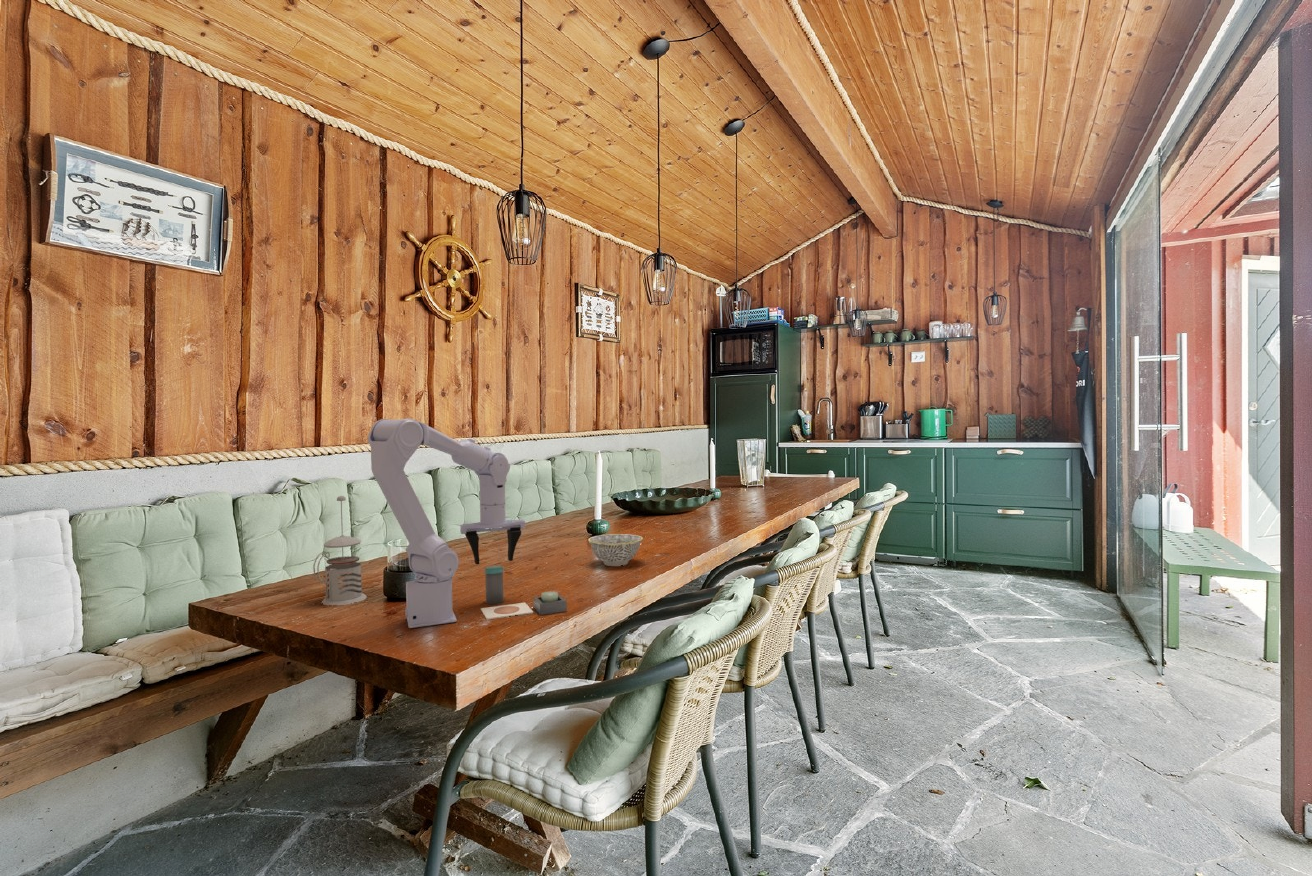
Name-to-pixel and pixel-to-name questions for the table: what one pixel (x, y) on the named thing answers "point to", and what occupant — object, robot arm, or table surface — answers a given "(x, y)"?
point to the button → (549, 596)
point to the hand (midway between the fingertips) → (493, 561)
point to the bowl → (615, 548)
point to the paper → (506, 611)
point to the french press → (342, 572)
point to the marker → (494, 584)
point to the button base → (549, 605)
